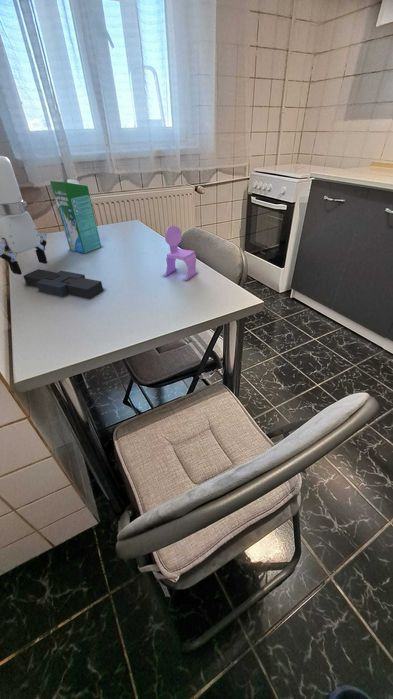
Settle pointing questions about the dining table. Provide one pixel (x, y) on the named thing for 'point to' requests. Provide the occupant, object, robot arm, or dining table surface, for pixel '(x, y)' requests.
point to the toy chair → (178, 252)
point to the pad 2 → (84, 287)
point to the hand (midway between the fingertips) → (30, 268)
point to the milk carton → (76, 215)
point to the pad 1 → (39, 276)
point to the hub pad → (57, 283)
